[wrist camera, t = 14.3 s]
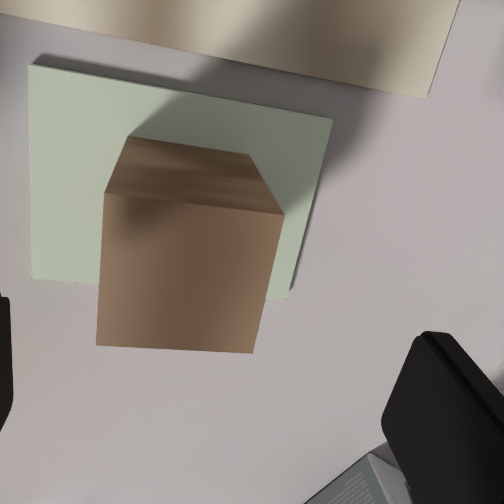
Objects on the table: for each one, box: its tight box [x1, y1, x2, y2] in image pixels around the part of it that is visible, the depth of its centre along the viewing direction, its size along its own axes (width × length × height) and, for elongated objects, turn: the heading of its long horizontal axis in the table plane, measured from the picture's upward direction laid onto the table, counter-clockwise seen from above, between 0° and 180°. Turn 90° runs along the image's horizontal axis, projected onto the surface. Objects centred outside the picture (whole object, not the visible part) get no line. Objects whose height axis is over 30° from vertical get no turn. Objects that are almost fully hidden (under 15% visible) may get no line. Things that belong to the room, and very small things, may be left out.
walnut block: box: [96, 136, 285, 354], centre depth 16 cm, size 5×5×7 cm
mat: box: [28, 64, 333, 300], centre depth 20 cm, size 12×9×1 cm
